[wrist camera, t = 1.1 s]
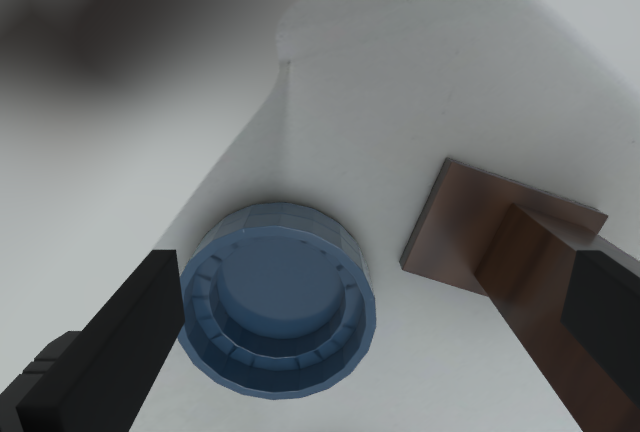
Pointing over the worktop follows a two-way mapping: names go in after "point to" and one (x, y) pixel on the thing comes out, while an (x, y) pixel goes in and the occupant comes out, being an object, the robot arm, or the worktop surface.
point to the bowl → (277, 302)
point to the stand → (522, 275)
